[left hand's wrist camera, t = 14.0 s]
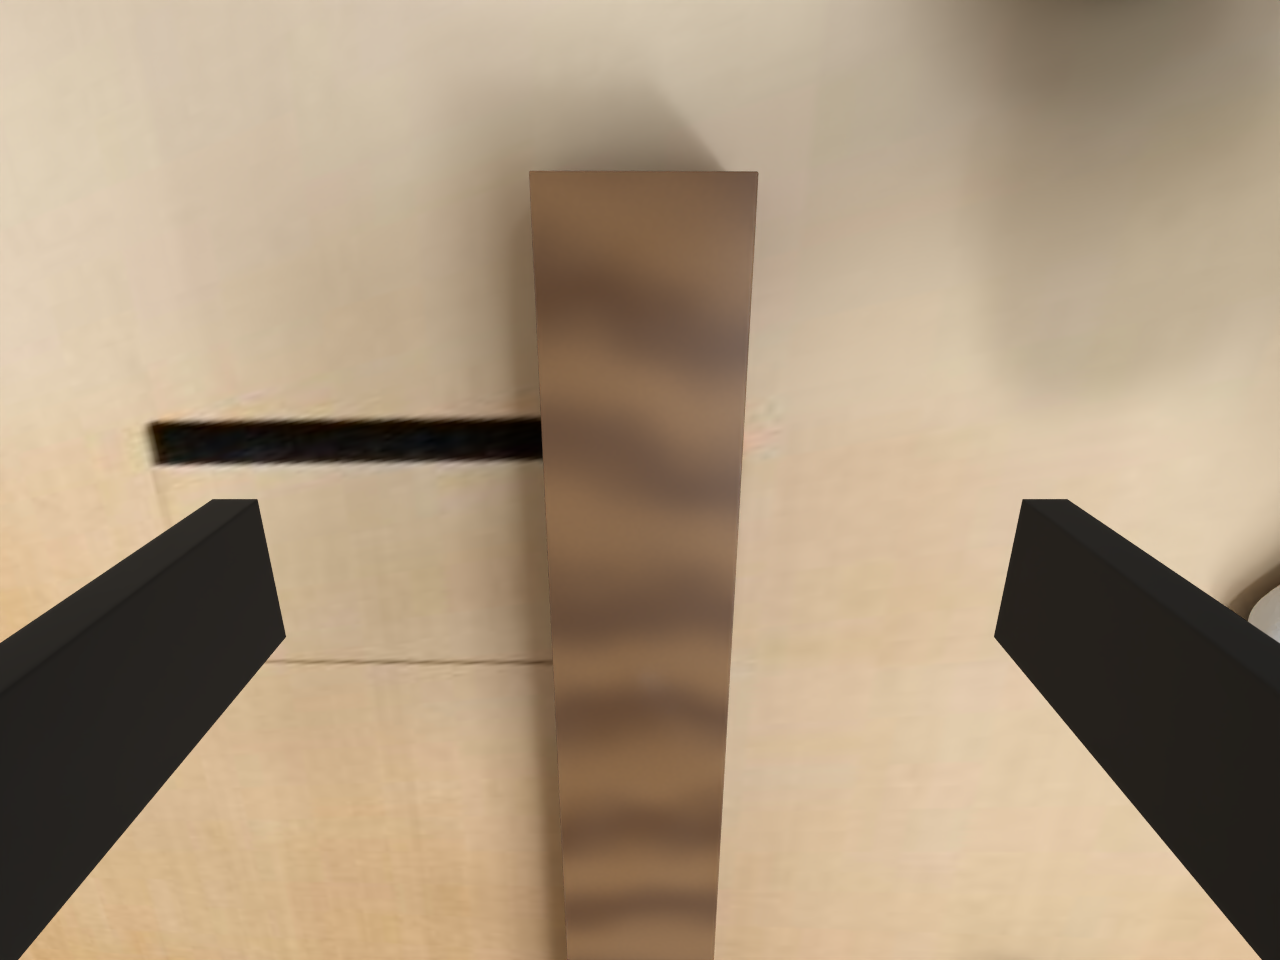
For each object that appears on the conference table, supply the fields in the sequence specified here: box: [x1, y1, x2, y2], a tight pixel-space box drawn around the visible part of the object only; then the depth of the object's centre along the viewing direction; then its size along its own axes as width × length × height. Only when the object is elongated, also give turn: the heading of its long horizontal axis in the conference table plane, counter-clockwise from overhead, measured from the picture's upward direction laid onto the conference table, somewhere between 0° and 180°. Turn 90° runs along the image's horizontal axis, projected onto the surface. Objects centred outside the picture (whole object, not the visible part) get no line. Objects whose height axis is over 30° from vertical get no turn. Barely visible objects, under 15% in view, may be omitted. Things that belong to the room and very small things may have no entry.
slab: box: [529, 171, 758, 960], centre depth 42 cm, size 65×9×8 cm, turn 0°
